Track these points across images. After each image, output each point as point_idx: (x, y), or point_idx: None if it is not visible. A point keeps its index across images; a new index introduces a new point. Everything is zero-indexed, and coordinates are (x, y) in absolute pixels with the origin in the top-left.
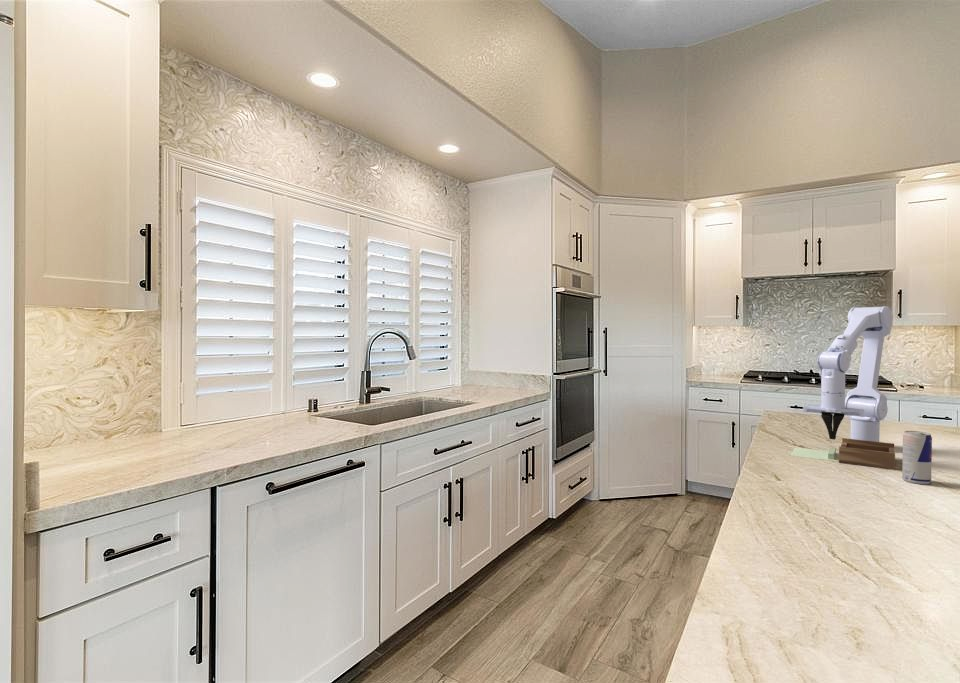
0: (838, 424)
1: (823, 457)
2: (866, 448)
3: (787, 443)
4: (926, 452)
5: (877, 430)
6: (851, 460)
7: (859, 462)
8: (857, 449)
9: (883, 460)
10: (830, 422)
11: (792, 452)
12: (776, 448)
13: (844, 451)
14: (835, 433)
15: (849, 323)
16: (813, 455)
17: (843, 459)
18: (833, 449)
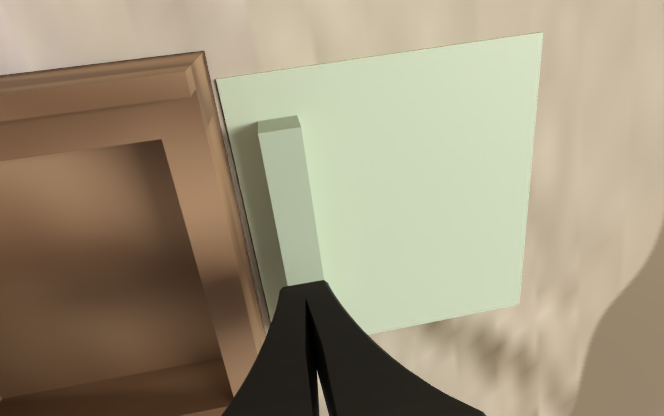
0: (239, 406)
1: (332, 142)
2: (117, 406)
3: (558, 366)
4: None
5: None
6: (105, 66)
7: (48, 72)
8: (5, 93)
9: None
10: (344, 395)
11: (530, 144)
12: (621, 199)
13: (142, 69)
14: (276, 319)
15: None
16: (399, 156)
17: (166, 57)
18: None
